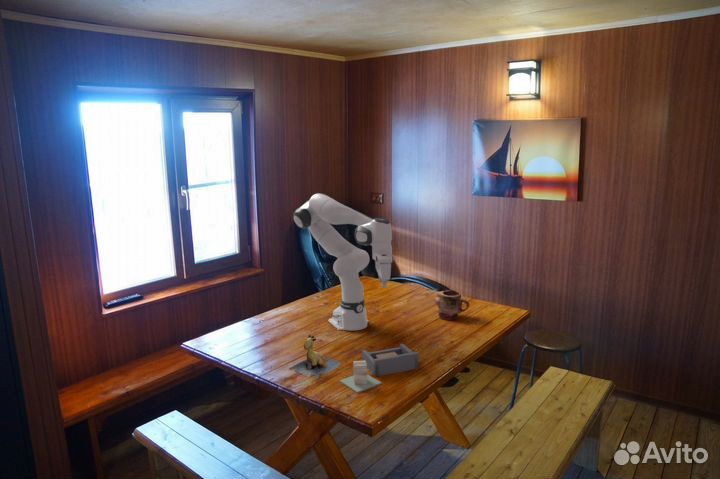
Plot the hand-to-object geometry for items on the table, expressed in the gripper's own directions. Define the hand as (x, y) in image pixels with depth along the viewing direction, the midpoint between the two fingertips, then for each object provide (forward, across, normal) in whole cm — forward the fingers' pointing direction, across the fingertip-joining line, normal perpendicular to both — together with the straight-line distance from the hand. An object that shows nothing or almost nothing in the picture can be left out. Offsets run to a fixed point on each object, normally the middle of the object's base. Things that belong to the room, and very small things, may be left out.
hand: (382, 284), depth 239 cm
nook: (+31, +16, 0) cm, 35 cm away
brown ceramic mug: (+31, -34, +42) cm, 62 cm away
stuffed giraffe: (+32, +14, -31) cm, 47 cm away
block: (+31, +31, -14) cm, 46 cm away
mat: (+31, +31, -14) cm, 46 cm away
